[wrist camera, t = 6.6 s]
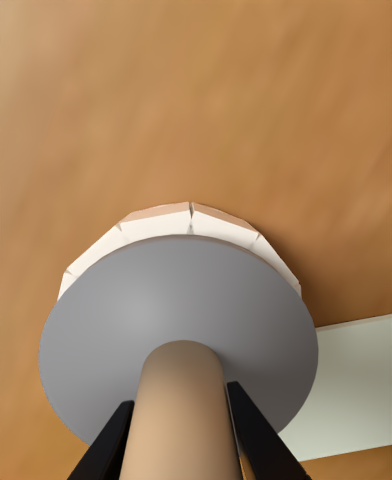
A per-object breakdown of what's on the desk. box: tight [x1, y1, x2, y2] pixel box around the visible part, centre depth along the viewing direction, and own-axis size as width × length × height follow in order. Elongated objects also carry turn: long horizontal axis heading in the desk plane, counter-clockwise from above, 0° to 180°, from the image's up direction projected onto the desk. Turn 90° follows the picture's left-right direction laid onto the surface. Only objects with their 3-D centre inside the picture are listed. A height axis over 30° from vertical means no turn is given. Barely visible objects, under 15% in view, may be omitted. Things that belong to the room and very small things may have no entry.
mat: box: [278, 314, 392, 462], centre depth 18 cm, size 12×12×1 cm
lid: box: [39, 234, 319, 480], centre depth 8 cm, size 11×11×6 cm
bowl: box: [58, 202, 302, 300], centre depth 14 cm, size 12×12×4 cm
